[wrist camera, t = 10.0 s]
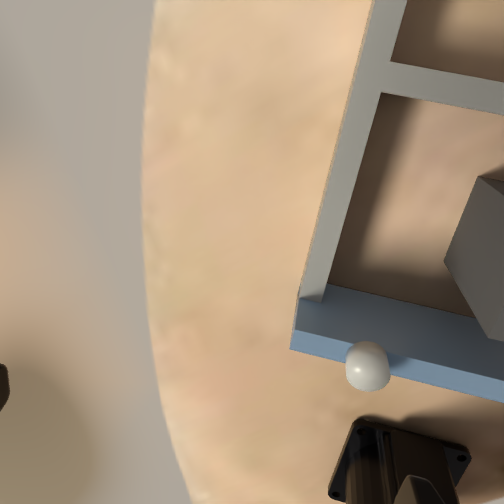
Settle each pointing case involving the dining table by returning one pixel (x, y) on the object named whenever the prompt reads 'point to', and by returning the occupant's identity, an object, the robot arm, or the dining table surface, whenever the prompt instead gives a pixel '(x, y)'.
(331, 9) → the dining table surface
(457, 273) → the grey cube with knob
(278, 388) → the dining table surface
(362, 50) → the organiser
